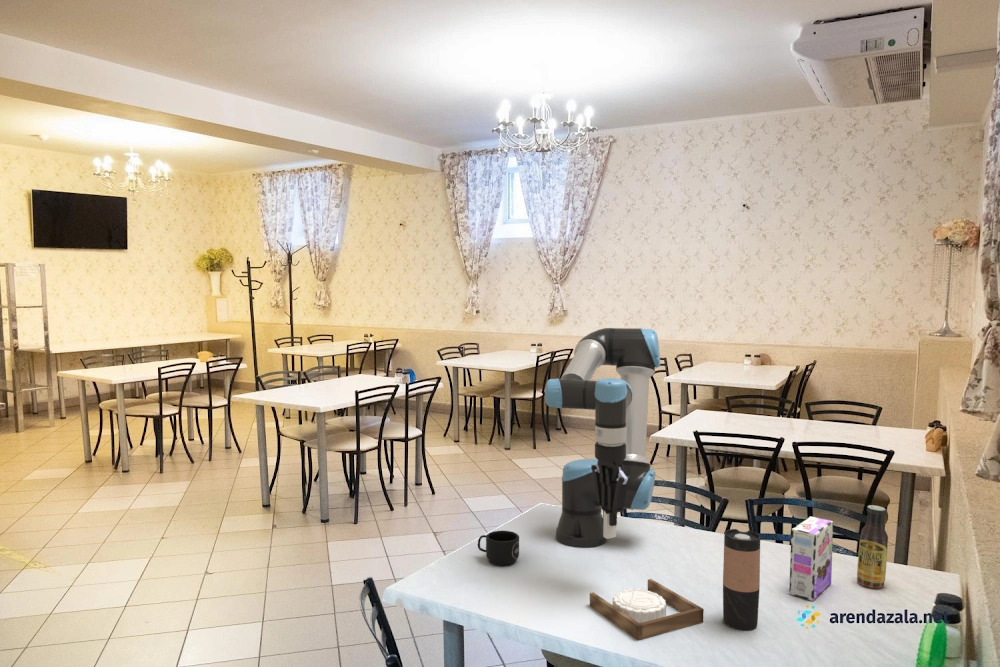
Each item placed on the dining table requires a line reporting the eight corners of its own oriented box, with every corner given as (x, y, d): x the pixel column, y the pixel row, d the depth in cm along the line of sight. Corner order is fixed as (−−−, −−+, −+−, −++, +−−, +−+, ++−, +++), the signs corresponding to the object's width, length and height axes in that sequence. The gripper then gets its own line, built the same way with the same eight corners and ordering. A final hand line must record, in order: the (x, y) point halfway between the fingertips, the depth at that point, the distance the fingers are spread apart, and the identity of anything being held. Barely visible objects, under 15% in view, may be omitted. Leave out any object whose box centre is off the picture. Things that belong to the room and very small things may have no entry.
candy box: (813, 602, 163) (815, 534, 162) (788, 594, 167) (790, 528, 166) (832, 584, 173) (834, 520, 172) (807, 577, 177) (809, 514, 176)
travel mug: (739, 634, 147) (741, 542, 146) (714, 618, 154) (716, 531, 153) (766, 627, 150) (768, 537, 149) (741, 612, 157) (743, 526, 156)
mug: (524, 558, 189) (524, 533, 189) (511, 570, 181) (511, 543, 180) (484, 551, 194) (485, 526, 194) (470, 562, 186) (470, 537, 185)
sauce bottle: (853, 584, 172) (856, 507, 171) (860, 577, 177) (863, 501, 176) (882, 592, 168) (885, 512, 167) (889, 584, 172) (892, 507, 171)
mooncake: (664, 629, 150) (664, 613, 150) (609, 621, 153) (609, 605, 153) (667, 605, 161) (668, 590, 161) (616, 598, 165) (616, 583, 165)
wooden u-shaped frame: (589, 605, 160) (589, 593, 160) (650, 590, 168) (650, 578, 168) (638, 640, 144) (638, 626, 144) (703, 622, 152) (703, 608, 152)
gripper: (582, 438, 171) (582, 530, 173) (613, 450, 159) (613, 549, 161) (607, 435, 174) (606, 525, 176) (639, 446, 163) (638, 543, 165)
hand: (609, 536), depth 169 cm, fingers closed
